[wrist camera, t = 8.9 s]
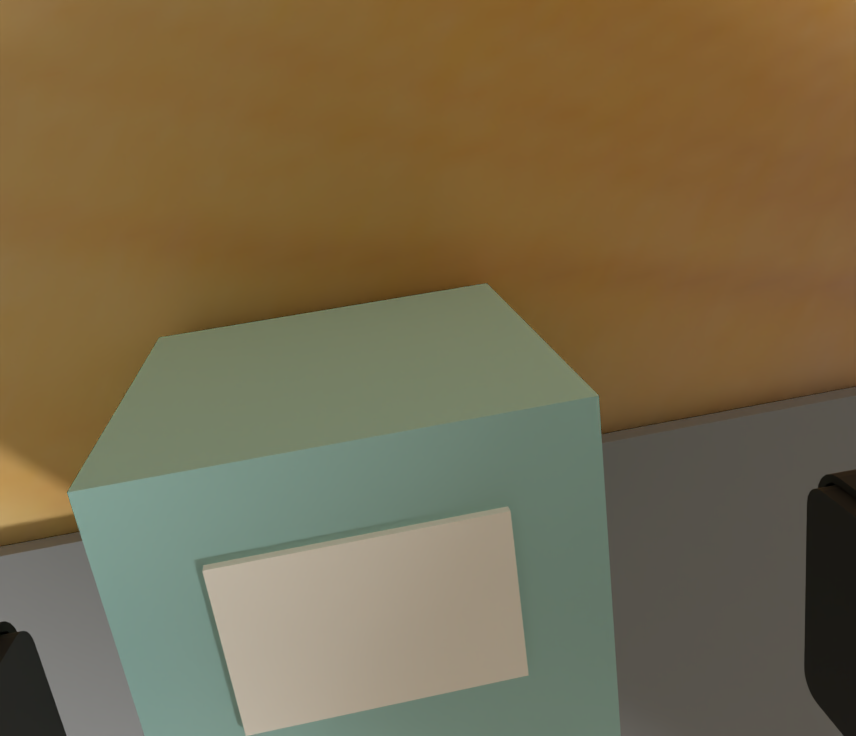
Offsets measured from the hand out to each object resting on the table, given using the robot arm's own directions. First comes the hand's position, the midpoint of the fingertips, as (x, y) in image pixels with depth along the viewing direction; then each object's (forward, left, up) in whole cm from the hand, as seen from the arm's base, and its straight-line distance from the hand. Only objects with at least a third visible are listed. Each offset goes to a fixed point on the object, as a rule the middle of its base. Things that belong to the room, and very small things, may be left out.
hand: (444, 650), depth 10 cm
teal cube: (+1, 0, -6) cm, 6 cm away
